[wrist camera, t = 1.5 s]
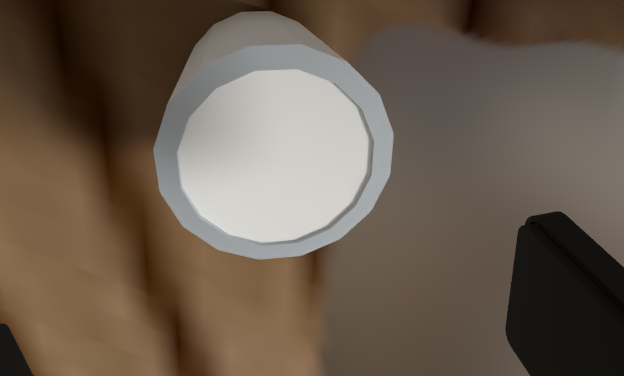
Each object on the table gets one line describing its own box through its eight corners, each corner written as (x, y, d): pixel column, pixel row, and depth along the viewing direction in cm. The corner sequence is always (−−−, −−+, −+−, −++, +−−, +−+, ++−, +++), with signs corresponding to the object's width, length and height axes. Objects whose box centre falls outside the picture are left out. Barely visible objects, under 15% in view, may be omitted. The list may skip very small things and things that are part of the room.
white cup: (328, -27, 20) (380, 16, 14) (355, 139, 23) (406, 231, 17) (142, 16, 19) (113, 79, 13) (199, 178, 23) (195, 285, 17)
